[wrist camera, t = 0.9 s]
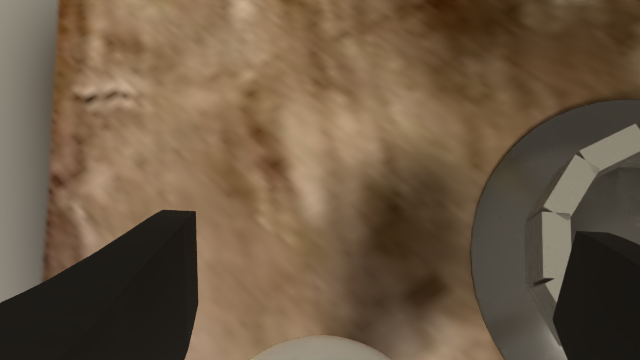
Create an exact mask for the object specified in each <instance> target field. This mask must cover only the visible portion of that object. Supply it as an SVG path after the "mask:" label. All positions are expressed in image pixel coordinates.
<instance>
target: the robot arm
mask: <svg viewBox="0 0 640 360" xmlns="http://www.w3.org/2000/svg"><path fill="white" fill-rule="evenodd" d="M197 307H198V276H197V241H196V211H177V210H162V211H160V212H158V213H156V214H154V215H153V216H151V217H149V218H148V219H146V220H145V221H143V222H142V223H140V224H139V225H137V226H136V227H134V228H133V229H131V230H130V231H128V232H127V233H125V234H123V235H122V236H120V237H119V238H117V239H116V240H114V241H113V242H111V243H109V244H108V245H106V246H105V247H103V248H102V249H100V250H99V251H97V252H95V253H94V254H92V255H90V256H89V257H87V258H85V259H83V260H82V261H80V262H78V263H76V264H75V265H73V266H71V267H69V268H68V269H66V270H64V271H62V272H61V273H59V274H57V275H56V276H54V277H52V278H50V279H48V280H47V281H45V282H43V283H41V284H39V285H37V286H35V287H33V288H31V289H29V290H27V291H25V292H23V293H21V294H19V295H16V296H14V297H12V298H10V299H8V300H5V301H3V302H1V303H0V360H184V359H185V357H186V354H187V351H188V348H189V343H190V339H191V335H192V330H193V326H194V321H195V316H196V312H197ZM552 320H553V323H554V326H555V329H556V331H557V334H558V337H559V340H560V343H561V345H562V348H563V350H564V353H565V355H566V357H567V360H640V245H639V244H637V243H635V242H632V241H630V240H628V239H625V238H623V237H620V236H617V235H614V234H611V233H608V232H590V231H576V234H575V238H574V241H573V245H572V249H571V252H570V256H569V259H568V263H567V267H566V270H565V274H564V278H563V281H562V285H561V289H560V292H559V296H558V300H557V303H556V307H555V311H554V314H553V318H552Z"/></svg>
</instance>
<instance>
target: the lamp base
mask: <svg viewBox="0 0 640 360" xmlns="http://www.w3.org/2000/svg"><path fill="white" fill-rule="evenodd" d="M576 231H590V232H608V233H611V234H614V235H617V236H620V237H623V238H625V239H628V240H630V241H632V242H635V243H637V244H639V245H640V99H630V100H612V101H605V102H598V103H593V104H590V105H586V106H582V107H578V108H575V109H572V110H570V111H567V112H565V113H563V114H560V115H558V116H555V117H554V118H552V119H550V120H548V121H547V122H545V123H543V124H541V125H540V126H538V127H537V128H535V129H534V130H533V131H531V132H530V133H529V134H527V135H526V136H525V137H523V138H522V139H521V140H520V141H519V142H518V143H517V144H516V145H515V146H514V147H513V148H512V149H511V150H510V151H509V152H508V153H507V155H506V156H505V157H504V159H503V160H502V161H501V163H500V164H499V165H498V167H497V168H496V169H495V171H494V172H493V174H492V176H491V178H490V179H489V181H488V183H487V185H486V187H485V189H484V191H483V193H482V196H481V199H480V201H479V204H478V207H477V210H476V214H475V219H474V223H473V228H472V236H471V248H470V256H471V274H472V280H473V285H474V290H475V296H476V299H477V302H478V305H479V308H480V312H481V315H482V318H483V320H484V322H485V325H486V327H487V329H488V331H489V333H490V335H491V338H492V340H493V342H494V343H495V345H496V346H497V348H498V350H499V351H500V353H501V354H502V356H503V358H504V359H505V360H567V357H566V355H565V353H564V350H563V348H562V345H561V343H560V340H559V337H558V334H557V331H556V329H555V326H554V323H553V320H552V318H553V314H554V311H555V307H556V303H557V300H558V296H559V292H560V289H561V285H562V281H563V278H564V274H565V270H566V267H567V263H568V259H569V256H570V252H571V249H572V245H573V241H574V238H575V234H576Z"/></svg>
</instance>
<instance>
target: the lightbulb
mask: <svg viewBox="0 0 640 360" xmlns="http://www.w3.org/2000/svg"><path fill="white" fill-rule="evenodd" d="M249 360H391V359H390V358H388V357H387V356H385V355H384V354H382V353H381V352H379V351H377V350H376V349H374V348H372V347H370V346H368V345H365V344H363V343H360V342H358V341H355V340H351V339H348V338H343V337H338V336H330V335H311V336H303V337H297V338H293V339H289V340H286V341H283V342H280V343H277V344H275V345H273V346H271V347H269V348H267V349H265V350H263V351H261V352H260V353H258V354H256V355H255V356H253V357H252V358H251V359H249Z"/></svg>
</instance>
